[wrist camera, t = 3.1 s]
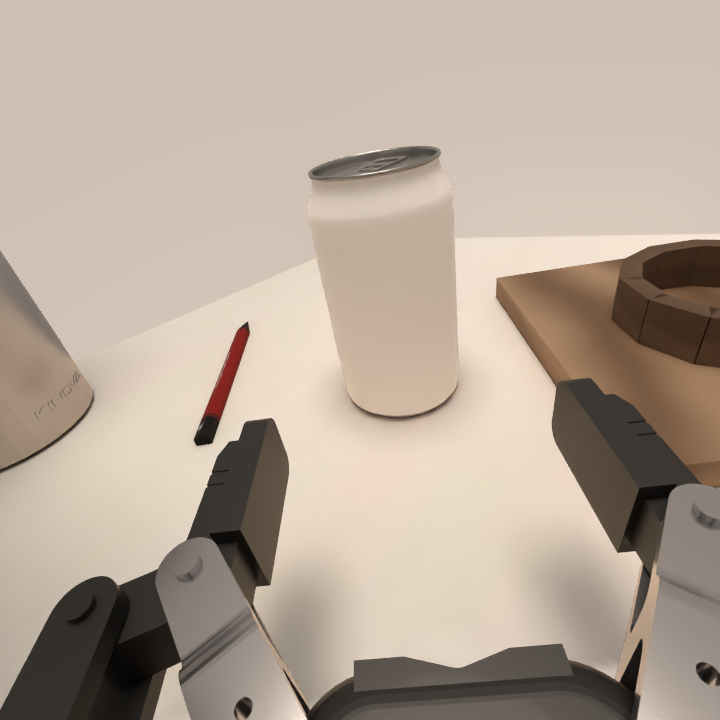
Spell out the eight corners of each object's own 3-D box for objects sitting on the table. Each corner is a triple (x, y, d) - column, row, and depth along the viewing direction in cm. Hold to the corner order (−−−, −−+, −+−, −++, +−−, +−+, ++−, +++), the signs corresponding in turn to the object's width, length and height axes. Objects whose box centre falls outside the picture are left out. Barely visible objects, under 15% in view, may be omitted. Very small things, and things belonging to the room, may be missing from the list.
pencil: (254, 325, 34) (250, 315, 34) (214, 447, 22) (207, 433, 22) (244, 327, 34) (240, 317, 34) (198, 449, 23) (191, 436, 22)
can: (326, 405, 23) (266, 183, 17) (380, 345, 28) (350, 150, 21) (431, 435, 20) (409, 175, 14) (474, 363, 24) (473, 138, 18)
